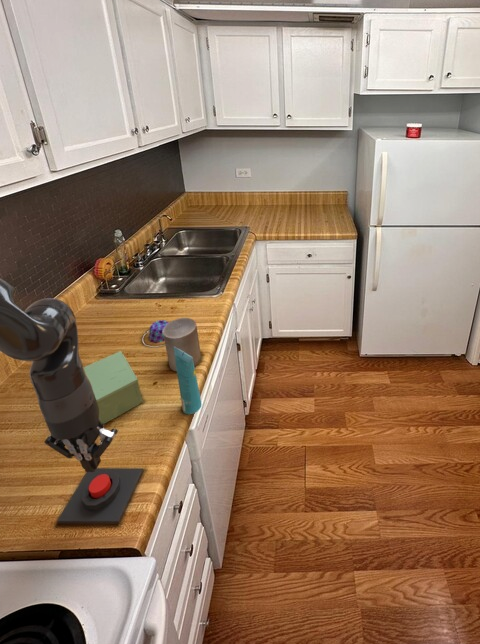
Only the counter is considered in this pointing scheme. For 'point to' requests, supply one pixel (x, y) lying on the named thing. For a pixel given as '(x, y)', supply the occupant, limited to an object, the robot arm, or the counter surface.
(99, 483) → the button
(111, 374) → the lid
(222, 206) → the counter surface
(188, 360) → the tube
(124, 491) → the button block
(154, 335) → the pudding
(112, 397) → the breadbin
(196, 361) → the pillar candle
